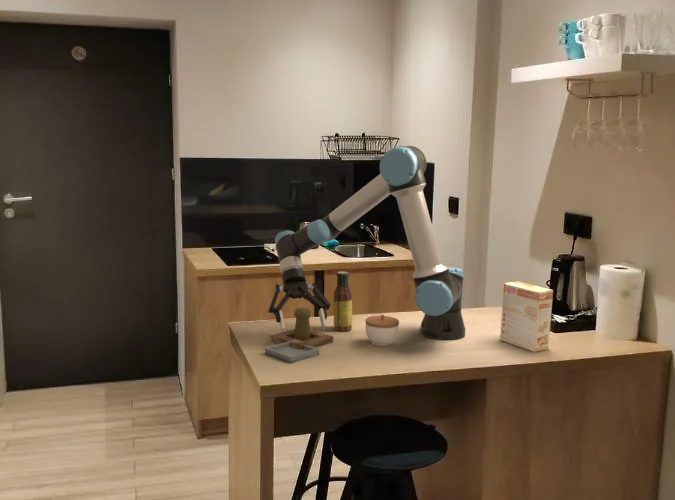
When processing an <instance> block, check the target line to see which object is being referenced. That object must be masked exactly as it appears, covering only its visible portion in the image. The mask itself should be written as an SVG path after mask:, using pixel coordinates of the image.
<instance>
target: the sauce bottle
mask: <svg viewBox="0 0 675 500" xmlns="http://www.w3.org/2000/svg"><path fill="white" fill-rule="evenodd" d="M349 274H350V273H349V272H348V271H343V270H342V271H337V272H336V280H337V281H336V282H337V283H336V287H335V290H334V292H333V327H334V330H335V331H338V332H350V331H351V330H352V328H353V327H352V326H353V295H352V293H351V290H350V286H349V276H350V275H349Z"/></svg>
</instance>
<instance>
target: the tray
mask: <svg viewBox="0 0 675 500" xmlns="http://www.w3.org/2000/svg"><path fill="white" fill-rule="evenodd" d="M290 343H291V342H285V343H282V344H278V343H277V344H275V345H271V346H268V347H264V354H265V355H267V356H270V357H272V358H276V359H278V360H281V361H284V362H287V363H289V364H294V363H297V362H300V361H303V360H307V359H309V358H310V359H311V358H313V357H316V356H320V349H319V347H311V346H308V345H304V349H302V350H301V349H298V348H295V347H292V346H290Z"/></svg>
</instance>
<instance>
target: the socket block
mask: <svg viewBox="0 0 675 500" xmlns="http://www.w3.org/2000/svg"><path fill="white" fill-rule="evenodd" d="M294 330H295V328H294V329H290V330H286V331H285V330H284V333H281V332H278V333H274V334H271V335H270V338H271V339H270V342H273V343H275V344H277V345H278V344H282V343H285V342H291V343H290V346H292V347H295V348H298V349H301V350H302V349H304V345H308V346H311V347H315V348H319V347H322V346H325V345H329V344H331V343H334V335H330V334H328V333H323V332H321V331H318V330H314V329H311V328H310V332H311V339H308V340H304V341H300V340H297V339H294V338H293V337H294Z"/></svg>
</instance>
